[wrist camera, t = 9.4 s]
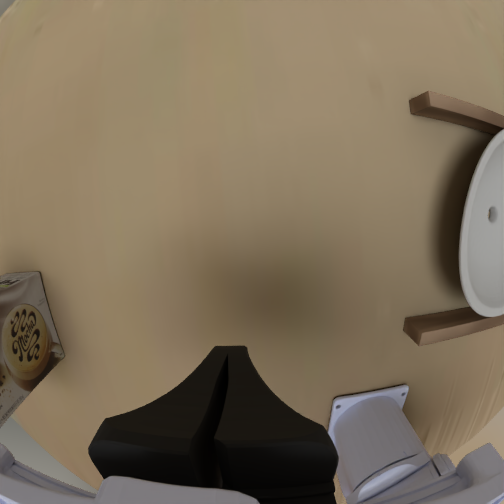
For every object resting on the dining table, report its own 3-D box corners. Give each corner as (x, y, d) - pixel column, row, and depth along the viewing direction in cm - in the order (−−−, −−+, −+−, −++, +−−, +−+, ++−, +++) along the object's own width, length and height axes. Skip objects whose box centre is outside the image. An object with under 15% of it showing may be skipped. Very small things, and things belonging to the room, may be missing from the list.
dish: (483, 99, 18) (516, 90, 13) (538, 205, 20) (568, 210, 15) (391, 228, 20) (426, 239, 16) (464, 326, 22) (493, 348, 18)
